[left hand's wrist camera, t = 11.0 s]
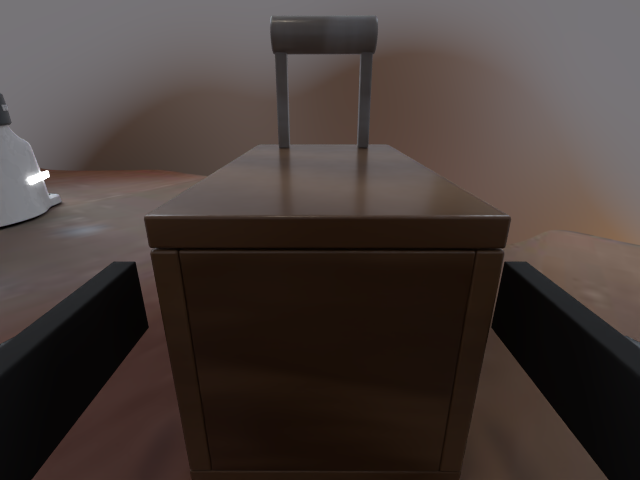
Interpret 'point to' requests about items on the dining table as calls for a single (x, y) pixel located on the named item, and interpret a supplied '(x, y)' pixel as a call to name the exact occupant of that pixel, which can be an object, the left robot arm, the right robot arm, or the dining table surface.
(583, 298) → the dining table surface
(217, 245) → the lid
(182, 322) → the chest
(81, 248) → the dining table surface
